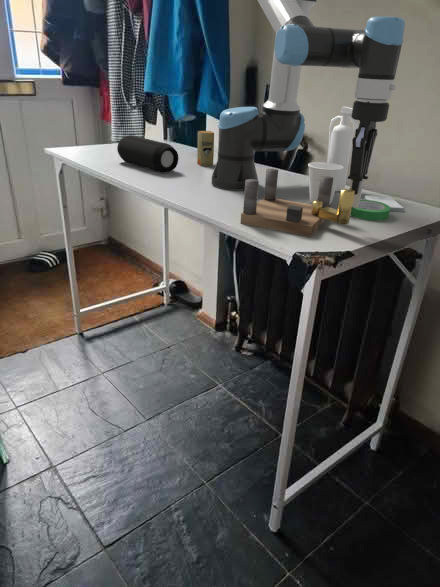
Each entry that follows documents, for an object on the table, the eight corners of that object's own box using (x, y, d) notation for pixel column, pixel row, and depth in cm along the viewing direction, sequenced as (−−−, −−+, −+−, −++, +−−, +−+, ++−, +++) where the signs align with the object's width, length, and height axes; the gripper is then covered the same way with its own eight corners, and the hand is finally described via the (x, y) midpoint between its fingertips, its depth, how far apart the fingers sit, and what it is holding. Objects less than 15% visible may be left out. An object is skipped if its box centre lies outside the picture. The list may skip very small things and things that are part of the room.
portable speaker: (180, 172, 159) (180, 143, 155) (158, 176, 153) (157, 146, 148) (137, 160, 175) (136, 133, 170) (116, 163, 168) (114, 135, 164)
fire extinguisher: (324, 183, 153) (336, 104, 142) (353, 191, 145) (368, 108, 134) (311, 185, 149) (322, 105, 138) (340, 194, 141) (355, 109, 130)
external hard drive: (374, 212, 127) (363, 200, 139) (403, 213, 127) (390, 201, 138) (376, 206, 127) (364, 194, 138) (405, 208, 127) (391, 196, 138)
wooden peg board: (265, 205, 126) (268, 168, 122) (328, 216, 120) (334, 177, 115) (240, 223, 112) (243, 181, 107) (310, 236, 105) (317, 192, 101)
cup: (313, 197, 137) (318, 160, 132) (343, 204, 131) (349, 166, 126) (296, 203, 130) (301, 164, 125) (327, 211, 125) (333, 171, 119)
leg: (308, 213, 112) (312, 182, 109) (316, 211, 114) (320, 181, 111) (343, 225, 105) (349, 192, 102) (351, 222, 107) (357, 190, 103)
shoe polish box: (197, 163, 173) (197, 130, 168) (209, 163, 175) (210, 130, 169) (200, 166, 169) (201, 133, 164) (213, 165, 171) (214, 132, 165)
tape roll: (365, 222, 117) (367, 213, 116) (338, 210, 126) (340, 201, 125) (397, 218, 121) (399, 209, 120) (369, 207, 130) (371, 198, 129)
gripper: (383, 104, 90) (361, 216, 102) (395, 100, 100) (374, 202, 111) (346, 101, 93) (329, 210, 105) (362, 97, 103) (344, 197, 115)
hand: (352, 206), depth 108 cm, fingers closed
